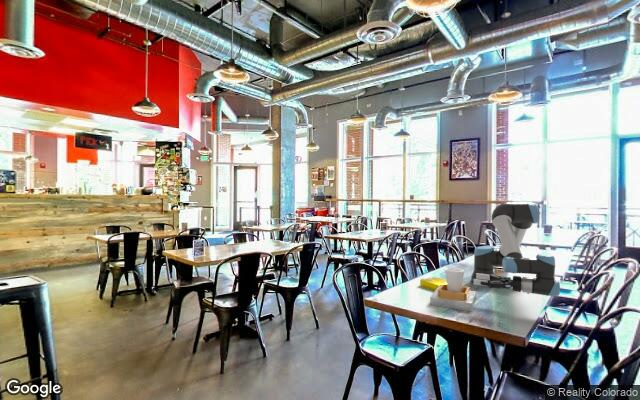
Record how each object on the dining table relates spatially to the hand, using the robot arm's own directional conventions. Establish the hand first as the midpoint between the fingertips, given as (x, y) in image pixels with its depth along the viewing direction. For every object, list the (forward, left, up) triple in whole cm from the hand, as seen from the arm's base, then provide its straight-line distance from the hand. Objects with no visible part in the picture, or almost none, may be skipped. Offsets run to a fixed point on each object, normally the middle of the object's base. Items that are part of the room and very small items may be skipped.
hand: (474, 278), depth 181 cm
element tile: (-24, -24, -14) cm, 37 cm away
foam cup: (+1, -10, -10) cm, 14 cm away
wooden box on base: (+1, -10, -14) cm, 17 cm away
